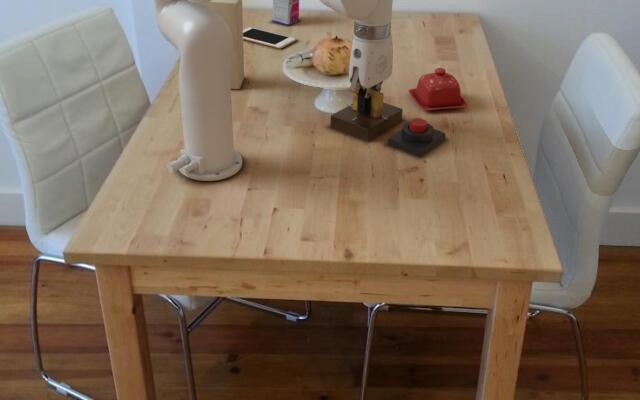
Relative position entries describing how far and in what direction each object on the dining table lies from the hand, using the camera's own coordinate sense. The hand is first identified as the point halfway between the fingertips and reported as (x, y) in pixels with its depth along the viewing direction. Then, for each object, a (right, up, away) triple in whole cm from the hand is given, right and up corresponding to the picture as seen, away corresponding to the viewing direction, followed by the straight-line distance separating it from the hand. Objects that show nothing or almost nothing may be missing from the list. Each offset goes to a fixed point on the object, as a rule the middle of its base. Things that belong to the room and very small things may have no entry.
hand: (367, 110), depth 162 cm
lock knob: (0, 0, 0) cm, 0 cm away
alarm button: (+10, -5, -6) cm, 13 cm away
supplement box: (-20, +33, +57) cm, 69 cm away
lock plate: (0, -3, +2) cm, 3 cm away
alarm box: (+10, -8, -5) cm, 13 cm away
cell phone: (-26, +25, +45) cm, 57 cm away
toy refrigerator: (-33, +9, +19) cm, 39 cm away
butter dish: (+17, +3, +12) cm, 21 cm away
